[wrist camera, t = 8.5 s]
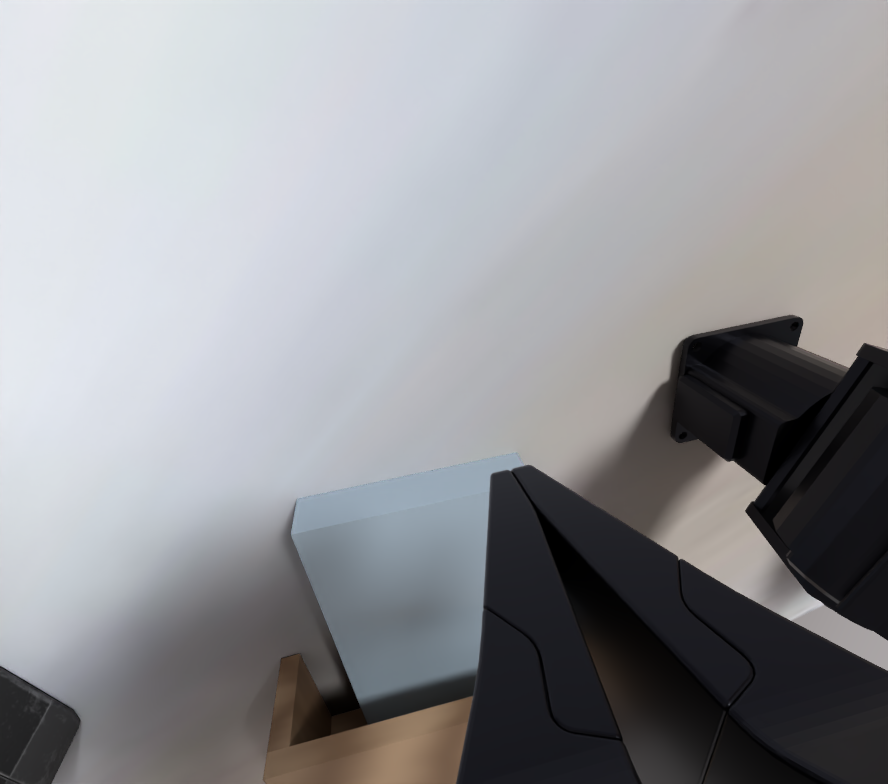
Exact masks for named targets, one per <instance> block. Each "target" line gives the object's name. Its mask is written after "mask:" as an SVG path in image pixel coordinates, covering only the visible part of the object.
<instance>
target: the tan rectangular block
mask: <svg viewBox="0 0 888 784" xmlns="http://www.w3.org/2000/svg"><path fill="white" fill-rule="evenodd" d="M472 699H473V696H471V697H467V698H464V699H460V700H456V701H453V702H449V703H446V704H442V705H438V706H435V707H431V708H428V709H424V710H420V711H417V712H413V713H409V714H406V715H402V716H399V717H395V718H391V719H388V720H384V721H380V722H377V723H373V724H370V725H368V724H367V721H366V719H365V717H364V714H363V712H362V709H361V708H360V709H357V710H353V711H349V712H346V713H342V714H338V715H335V716H331V714H330V712H329V710H328V708H327V706H326V704H325V702H324V700H323V698H322V696H321V694H320V692H319V690H318V688H317V687H316V685H315V683H314V681H313V679H312V677H311V675H310V673H309V671H308V669H307V667H306V665H305V663H304V661H303V659H302V657H301V655H300V654H297V655H293V656H289V657H285V658H281V664H280V670H279V677H278V684H277V690H276V697H275V704H274V710H273V717H272V723H271V730H270V737H269V743H268V750H267V757H266V763H265V770H264V777H263V781H264V782H265V783H266V784H456V780H457V775H458V770H459V765H460V760H461V755H462V750H463V745H464V740H465V735H466V729H467V724H468V719H469V714H470V709H471V704H472Z"/></svg>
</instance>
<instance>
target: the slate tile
mask: <svg viewBox="0 0 888 784" xmlns="http://www.w3.org/2000/svg"><path fill="white" fill-rule="evenodd" d="M520 466H524V464H523V462H522V460H521V459H520V457H519V455H518V453H517V452H516V453H511V454H506V455H502V456H497V457H492V458H488V459H483V460H478V461H473V462H469V463H464V464H459V465H455V466H450V467H445V468H440V469H436V470H431V471H426V472H422V473H417V474H412V475H407V476H403V477H398V478H393V479H389V480H384V481H379V482H374V483H370V484H365V485H360V486H355V487H351V488H346V489H341V490H337V491H332V492H327V493H322V494H318V495H313V496H308V497H304V498H299V499H297V502H296V507H295V513H294V519H293V525H292V530H291V536H292V539H293V541H294V544H295V546H296V549H297V551H298V554H299V556H300V559H301V561H302V564H303V566H304V569H305V571H306V573H307V576H308V578H309V581H310V583H311V586H312V588H313V591H314V593H315V596H316V598H317V601H318V603H319V606H320V608H321V610H322V613H323V615H324V618H325V620H326V623H327V625H328V628H329V630H330V633H331V635H332V638H333V640H334V643H335V645H336V647H337V650H338V652H339V655H340V657H341V660H342V662H343V665H344V667H345V670H346V672H347V675H348V677H349V680H350V682H351V684H352V687H353V689H354V692H355V694H356V697H357V699H358V702H359V704H360V707H361V709H362V712H363V714H364V717H365V719H366V721H367V724H368V725H370V724H373V723H377V722H380V721H384V720H388V719H391V718H395V717H399V716H402V715H406V714H409V713H413V712H417V711H420V710H424V709H428V708H431V707H435V706H438V705H442V704H446V703H449V702H453V701H456V700H460V699H464V698H467V697H471V696H473V693H474V687H475V681H476V675H477V669H478V662H479V652H480V641H481V629H482V612H483V598H484V580H485V562H486V545H487V527H488V509H489V491H490V476H491V474H492V473H494V472H499V471H503V470H510V471H511V470H512V469H513V468H516V467H520Z"/></svg>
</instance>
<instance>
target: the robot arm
mask: <svg viewBox="0 0 888 784" xmlns="http://www.w3.org/2000/svg"><path fill="white" fill-rule="evenodd" d="M802 326H803V319H802V318H800V317H797V316H795V315H788V316H783V317H778V318H773V319H768V320H764V321H759V322H754V323H749V324H744V325H739V326H735V327H730V328H725V329H720V330H715V331H711V332H706V333H701V334H696V335H692V336H690V337H688V338H687V339H686V340H685V341H684V343H683V347H682V354H681V361H680V369H679V376H678V383H677V390H676V398H675V405H674V412H673V419H672V426H671V437H672V438H673V439H674V440H675V441H676V442H678V443H683V442H687V441H692V440H696V439H699V440H701V441H702V442H703V443H704V444H706V445H707V446H708V447H709V448H711V449H712V450H713V451H714V452H716V453H717V454H718V455H719V456H721V457H722V458H723V459H725V460H726V461H728V462H729V461H734V462H736V463H737V464H738V465H739V466H741V467H742V468H743V469H745V470H746V471H747V472H748V473H750V474H751V475H752V476H754V477H755V478H756V479H757V480H759V481H760V482H761V483H762V484H764V485H766V486H765V487H764V489H763V490H762V492H761V493H760V494H759V496H758V497H757V499H756V500H755V501H752V502H751V503H750V504H749V506H748V507H747V509H746V510H745V511H746V513H747V514H748V516H749V517H750V518H751V520H752V521H753V522H754V524H755V525H756V526H757V528H758V529H759V530H760V532H761V533H762V534H763V536H764V537H765V538H766V540H767V541H768V542H769V543H770V545H771V546H772V547H773V549H774V550H775V551H776V553H777V554H778V555H779V557H780V558H781V559H782V561H783V562H784V563H785V565H786V566H787V567H788V569H789V570H790V571H791V573H792V574H793V575H794V576H795V577H796V579H797V580H798V581H799V583H800V584H801V585H802V587H803V588H804V589H805V591H806V592H807V593H808V594H810V595H811V596H812V597H814V598H815V599H817V600H819V601H821V602H822V603H823V604H824V605H825V606H827V607H828V608H830V609H832V610H834V611H835V612H837V613H838V614H840V615H841V616H843V617H845V618H847V619H848V620H850V621H852V622H854V623H856V624H858V625H860V626H862V627H864V628H866V629H869V630H871V631H874V632H876V633H877V634H879V635H880V636H882V637H883V638H885V639H886V640H888V349H884V348H881V347H877V346H874V345H870V344H867V343H864V344H863V345H862V347H861V348H860V350H859V351H858V352H857V354H856V355H857V356H858V357H857V358H856V360H855V361H854V363H853V364H852V366H851V367H850V368H848V367H845V366H843V365H841V364H838V363H836V362H833V361H831V360H828V359H826V358H824V357H821V356H819V355H816V354H814V353H811V352H809V351H807V350H804V349H802V348H799V347H797V345H798V341H799V337H800V334H801V330H802ZM695 343H696V345H695V346H694V347H693V345H694V344H695ZM692 347H693V348H692ZM456 784H888V671H887V670H885V669H883V668H881V667H879V666H877V665H875V664H873V663H871V662H869V661H867V660H865V659H863V658H861V657H859V656H857V655H855V654H853V653H852V652H850V651H848V650H846V649H844V648H842V647H840V646H838V645H836V644H834V643H832V642H830V641H829V640H827V639H825V638H823V637H821V636H819V635H817V634H815V633H813V632H811V631H809V630H807V629H806V628H804V627H802V626H800V625H798V624H796V623H794V622H792V621H790V620H788V619H786V618H784V617H782V616H781V615H779V614H777V613H775V612H773V611H771V610H769V609H767V608H766V607H764V606H762V605H760V604H758V603H756V602H755V601H753V600H751V599H749V598H747V597H745V596H744V595H742V594H740V593H738V592H736V591H734V590H733V589H731V588H729V587H728V586H726V585H724V584H723V583H721V582H719V581H718V580H716V579H714V578H712V577H711V576H709V575H707V574H706V573H704V572H702V571H701V570H699V569H698V568H696V567H694V566H693V565H691V564H690V563H688V562H686V561H685V560H683V559H680V560H679V561H678V557H677V556H676V555H675V554H673V553H672V552H670V551H668V550H667V549H665V548H663V547H662V546H660V545H659V544H657V543H655V542H654V541H652V540H651V539H649V538H647V537H646V536H644V535H643V534H641V533H639V532H638V531H636V530H635V529H633V528H631V527H630V526H628V525H626V524H625V523H623V522H622V521H620V520H618V519H617V518H615V517H614V516H612V515H610V514H609V513H607V512H606V511H604V510H602V509H601V508H599V507H598V506H596V505H594V504H593V503H591V502H590V501H588V500H586V499H585V498H583V497H581V496H580V495H578V494H577V493H575V492H573V491H572V490H570V489H569V488H567V487H565V486H564V485H562V484H561V483H559V482H557V481H556V480H554V479H553V478H551V477H549V476H548V475H546V474H544V473H543V472H541V471H540V470H538V469H536V468H535V467H533V466H531V465H525V466H520V467H516V468H513V469H512V470H511V471H510V470H503V471H499V472H494V473H492V474H491V476H490V491H489V509H488V527H487V545H486V562H485V580H484V598H483V612H482V629H481V641H480V652H479V662H478V669H477V675H476V681H475V687H474V693H473V699H472V704H471V709H470V714H469V719H468V724H467V729H466V735H465V740H464V745H463V750H462V755H461V760H460V765H459V770H458V775H457V780H456Z"/></svg>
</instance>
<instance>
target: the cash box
mask: <svg viewBox="0 0 888 784" xmlns="http://www.w3.org/2000/svg"><path fill="white" fill-rule="evenodd" d="M79 723H80V720H79V719H78V717H77V715H76V714H75V712H74V711H73V710H72V709H70V708H69V707H67V706H65V705H63V704H62V703H60V702H58V701H57V700H55V699H53V698H52V697H50V696H48V695H47V694H45V693H43V692H42V691H40V690H38V689H36V688H35V687H33V686H31V685H30V684H28V683H26V682H25V681H23V680H21V679H19V678H18V677H16V676H14V675H13V674H11V673H9V672H8V671H6V670H4V669H2V668H1V667H0V784H51V783H52V781H53V779H54V777H55V775H56V773H57V771H58V769H59V767H60V765H61V763H62V761H63V758H64V756H65V754H66V752H67V750H68V748H69V746H70V744H71V742H72V740H73V738H74V736H75V734H76V732H77V730H78V728H79Z"/></svg>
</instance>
